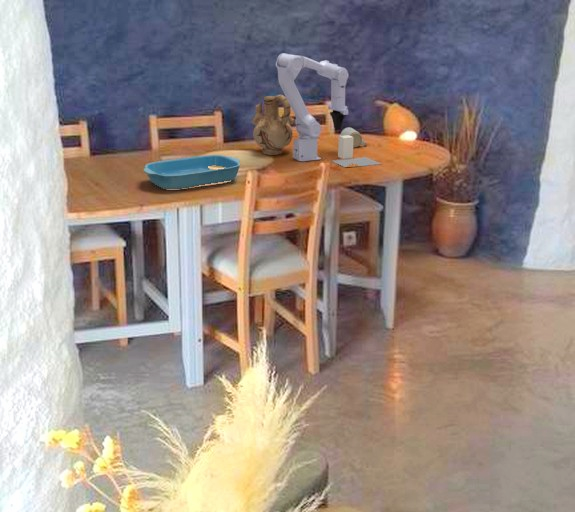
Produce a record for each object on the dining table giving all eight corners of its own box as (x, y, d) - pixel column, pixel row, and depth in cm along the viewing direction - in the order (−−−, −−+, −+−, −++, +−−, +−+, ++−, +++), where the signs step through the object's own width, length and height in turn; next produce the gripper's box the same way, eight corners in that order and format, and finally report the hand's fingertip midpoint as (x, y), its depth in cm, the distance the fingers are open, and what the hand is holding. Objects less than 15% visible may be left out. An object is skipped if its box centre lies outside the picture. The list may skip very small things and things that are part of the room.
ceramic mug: (347, 149, 379) (348, 131, 376) (339, 145, 386) (340, 127, 383) (369, 147, 382) (370, 129, 380) (361, 143, 390) (362, 126, 387)
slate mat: (345, 168, 346) (345, 167, 346) (331, 161, 357) (331, 160, 357) (381, 164, 352) (381, 163, 352) (366, 157, 363) (366, 157, 363)
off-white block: (343, 159, 360) (343, 137, 357) (338, 157, 364) (338, 135, 361) (352, 158, 361) (353, 137, 358) (347, 156, 365) (348, 134, 362)
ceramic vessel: (294, 148, 379) (294, 89, 371) (296, 158, 361) (296, 97, 353) (251, 148, 379) (250, 89, 370) (251, 158, 361) (250, 97, 352)
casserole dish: (158, 196, 308) (157, 176, 305) (134, 182, 326) (133, 163, 323) (251, 183, 325) (251, 164, 323) (224, 170, 343) (223, 152, 341)
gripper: (355, 98, 357) (354, 131, 361) (338, 92, 369) (338, 125, 374) (339, 99, 354) (339, 133, 359) (323, 94, 366) (323, 126, 371)
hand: (337, 129), depth 366 cm, fingers closed
